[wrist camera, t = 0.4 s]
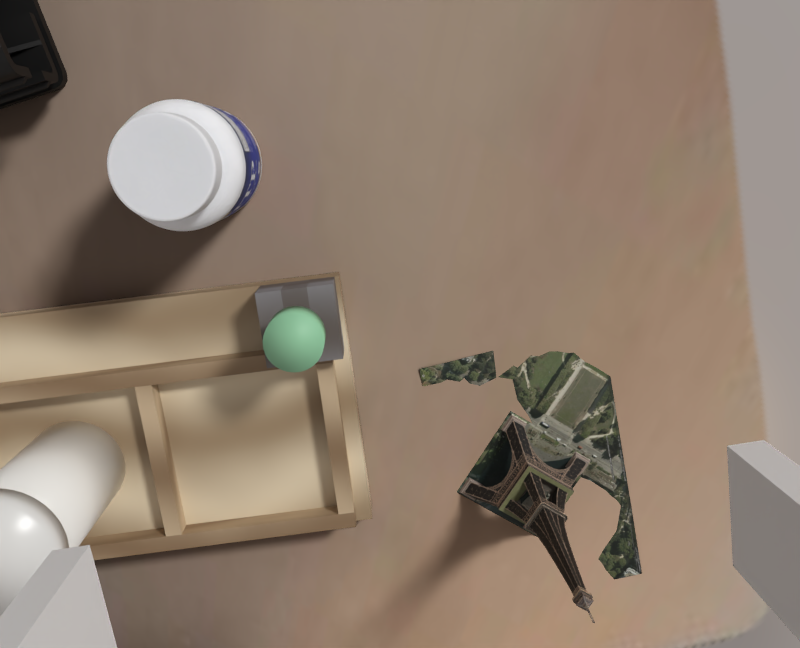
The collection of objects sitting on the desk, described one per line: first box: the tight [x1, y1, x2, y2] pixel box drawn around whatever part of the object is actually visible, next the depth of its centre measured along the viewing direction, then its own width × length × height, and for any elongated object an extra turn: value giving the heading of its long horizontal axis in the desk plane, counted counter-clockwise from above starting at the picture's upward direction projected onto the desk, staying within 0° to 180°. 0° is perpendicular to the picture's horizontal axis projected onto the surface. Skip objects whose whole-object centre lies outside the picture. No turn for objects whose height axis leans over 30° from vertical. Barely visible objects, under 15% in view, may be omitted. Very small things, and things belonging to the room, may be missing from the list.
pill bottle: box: [107, 99, 262, 231], centre depth 32 cm, size 5×5×9 cm
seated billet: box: [0, 421, 126, 616], centre depth 34 cm, size 5×5×9 cm
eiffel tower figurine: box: [420, 351, 642, 623], centre depth 35 cm, size 15×10×13 cm
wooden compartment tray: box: [0, 272, 372, 560], centre depth 37 cm, size 13×20×3 cm, turn 97°
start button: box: [263, 306, 326, 372], centre depth 34 cm, size 3×3×4 cm
